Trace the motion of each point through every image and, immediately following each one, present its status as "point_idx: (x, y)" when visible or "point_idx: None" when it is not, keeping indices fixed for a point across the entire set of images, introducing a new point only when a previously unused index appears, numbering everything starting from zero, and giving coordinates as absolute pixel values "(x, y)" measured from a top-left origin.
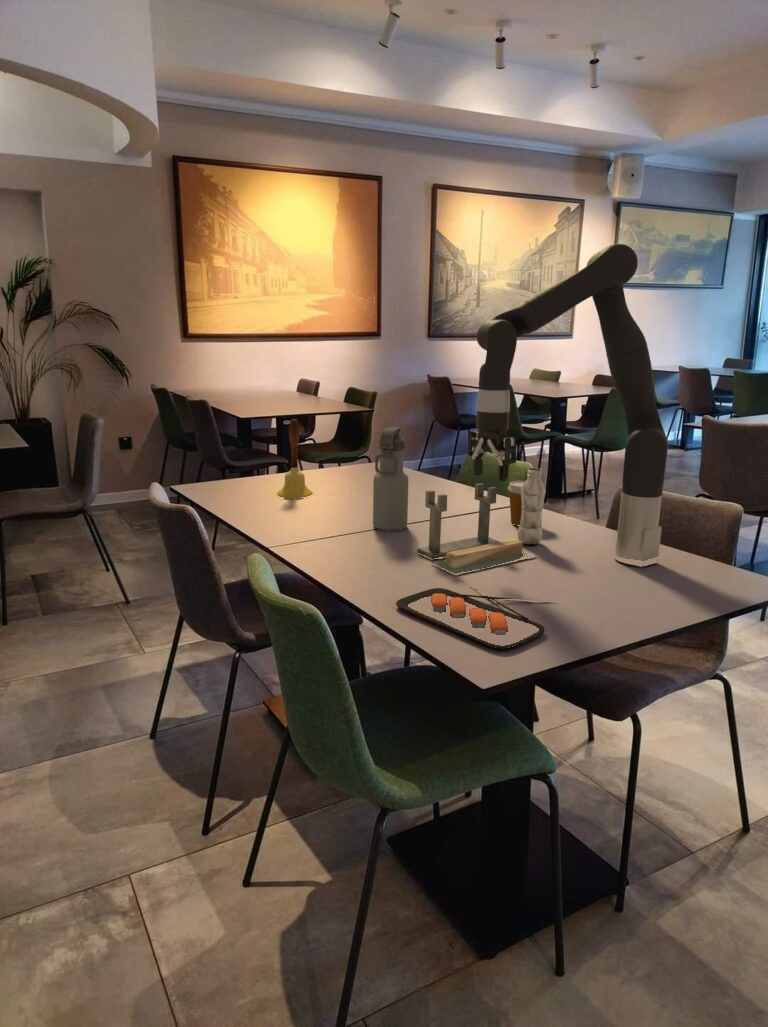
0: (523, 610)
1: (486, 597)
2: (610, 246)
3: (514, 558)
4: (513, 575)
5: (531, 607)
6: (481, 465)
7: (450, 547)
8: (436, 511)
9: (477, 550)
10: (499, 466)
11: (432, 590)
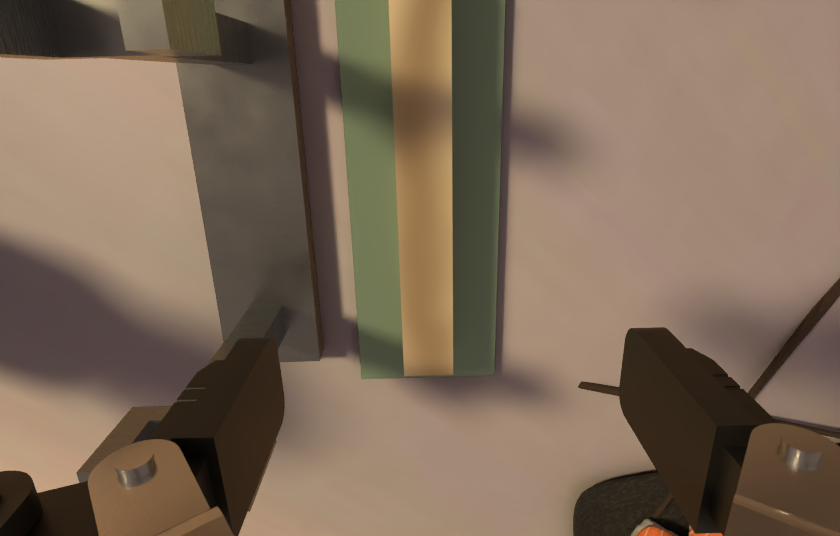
0: (823, 376)
1: None
2: None
3: (484, 69)
4: (605, 199)
5: (827, 344)
6: (246, 408)
7: (269, 249)
8: None
9: (443, 259)
10: (703, 523)
11: (582, 515)
